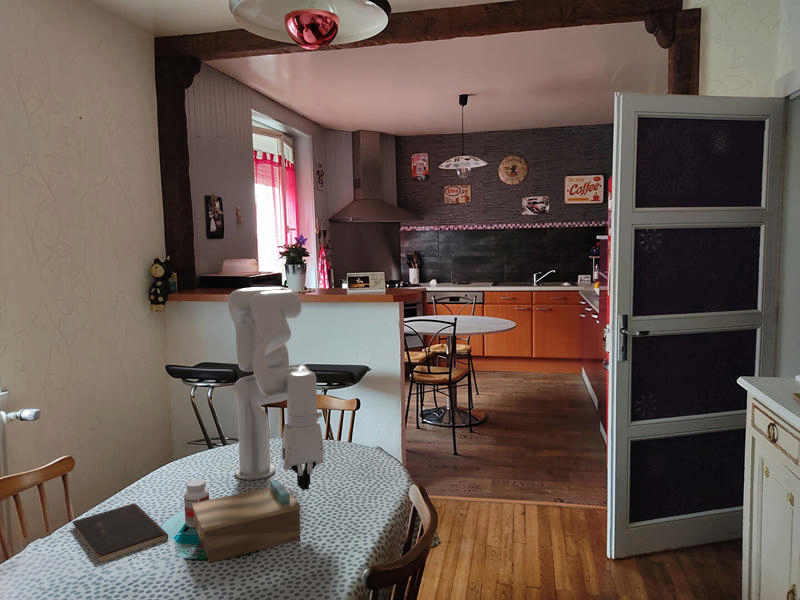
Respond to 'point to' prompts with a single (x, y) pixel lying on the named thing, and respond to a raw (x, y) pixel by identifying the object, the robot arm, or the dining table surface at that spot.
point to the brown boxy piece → (251, 536)
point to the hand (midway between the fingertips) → (304, 487)
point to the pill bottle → (194, 498)
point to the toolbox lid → (243, 507)
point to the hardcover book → (119, 531)
